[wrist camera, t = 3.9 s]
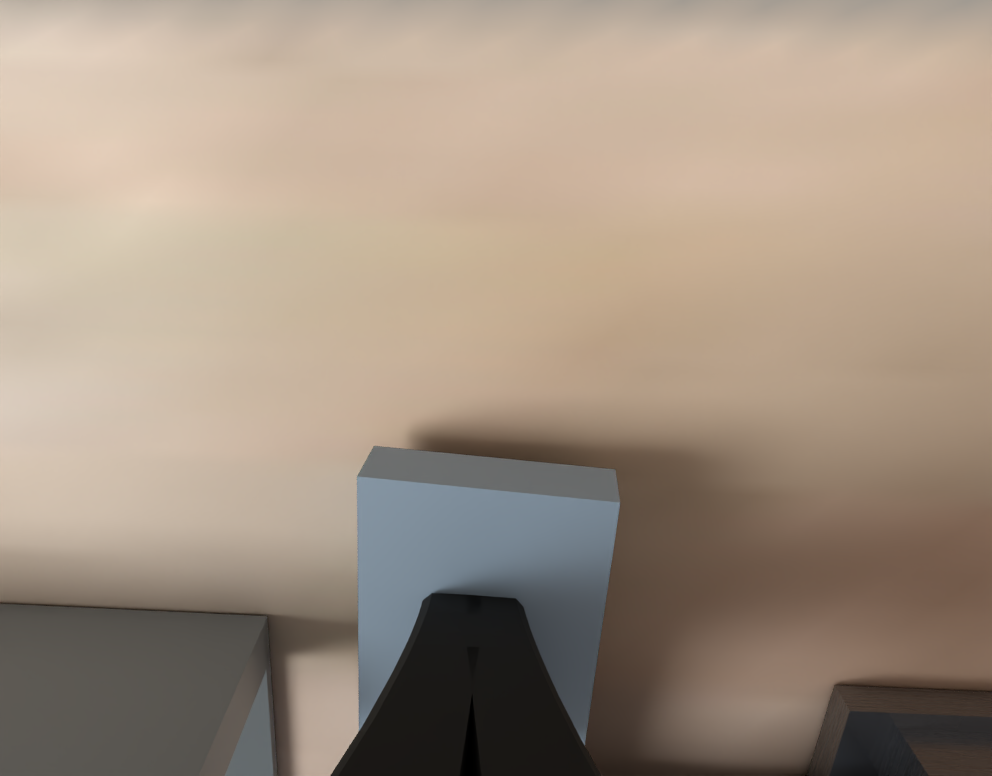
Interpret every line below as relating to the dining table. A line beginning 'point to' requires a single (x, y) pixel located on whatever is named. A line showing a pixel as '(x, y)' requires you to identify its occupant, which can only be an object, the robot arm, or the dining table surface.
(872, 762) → the stand
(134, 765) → the dish
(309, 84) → the dining table surface
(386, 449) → the blue-grey piece
